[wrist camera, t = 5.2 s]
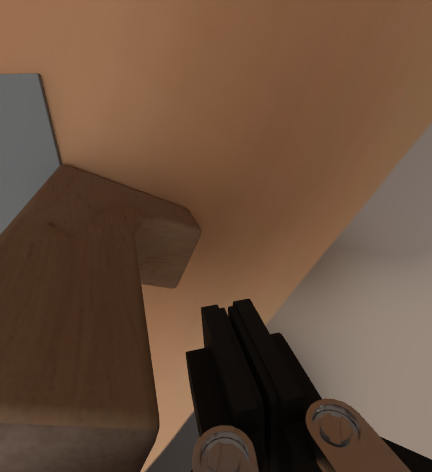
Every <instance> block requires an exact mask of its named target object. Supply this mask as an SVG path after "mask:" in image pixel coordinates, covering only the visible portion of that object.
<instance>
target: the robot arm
mask: <svg viewBox="0 0 432 472" xmlns="http://www.w3.org/2000/svg"><path fill="white" fill-rule="evenodd" d="M201 314H202V325H203V337H204V348H203V349H198V350H193V351H188V352H186V360H187V368H188V375H189V382H190V388H191V394H192V400H193V405H194V411H195V416H196V421H197V427H198V432H199V439H198V441H197V443H196V445H195V447H194V452H193V469H192V471H191V472H432V460H431V459H429V458H427V457H424V456H422V455H420V454H418V453H415V452H413V451H411V450H409V449H407V448H404V447H402V446H399V445H398V444H395V443H393V442H391V441H389V440H386V439H384V438H382V437H380V436H378V434H377V433H376V432H375V431H374V430H373V428H372V427H371V426H370V425H369V424H368V423H367V422H366V421H365V419H364V418H363V417H362V416H361V415H360V414H359V413H358V412H357V411H356V410H355V409H354V408H352V407H351V406H349V405H347V404H346V403H344V402H342V401H338V400H335V399H322V398H321V397H320V395H319V394H318V392H317V390H316V389H315V387H314V385H313V384H312V382H311V381H310V379H309V377H308V376H307V374H306V373H305V371H304V369H303V368H302V366H301V365H300V363H299V361H298V360H297V358H296V356H295V355H294V353H293V351H292V350H291V348H290V347H289V345H288V343H287V342H286V340H285V339H284V337H283V336H282V334H280V333H275V334H269V332H268V330H267V328H266V326H265V325H264V323H263V321H262V319H261V318H260V316H259V314H258V312H257V311H256V309H255V307H254V305H253V304H252V302H251V300H250V299H244V300H239V301H234V302H233V306H230V307H228V315H227V313H226V311H225V308H219V307H218V305H212V306H206V307H201Z"/></svg>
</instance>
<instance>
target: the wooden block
mask: <svg viewBox="0 0 432 472" xmlns="http://www.w3.org/2000/svg"><path fill="white" fill-rule="evenodd" d="M200 235H201V229H200V227H199V226H198V224H197V223H196V221H195V220H194V218H193V217H192V215H191V214H190V212H189V211H188V210H187V209H186V208H184V207H181V206H178V205H175V204H173V203H170V202H167V201H164V200H162V199H159V198H156V197H153V196H151V195H148V194H145V193H142V192H140V191H137V190H134V189H131V188H129V187H126V186H123V185H120V184H117V183H115V182H112V181H109V180H106V179H104V178H101V177H98V176H95V175H93V174H90V173H87V172H84V171H81V170H79V169H76V168H73V167H70V166H68V165H60V166H59V167H58V168H57V169H56V170H55V172H54V173H53V174H52V175H51V176H50V177H49V179H48V180H47V181H46V182H45V183H44V184H43V185H42V187H41V188H40V189H39V190H38V191H37V192H36V194H35V195H34V196H33V197H32V198H31V199H30V201H29V202H28V203H27V204H26V205H25V206H24V208H23V209H22V210H21V211H20V212H19V213H18V215H17V216H16V217H15V218H14V219H13V220H12V222H11V223H10V224H9V225H8V226H7V227H6V229H5V230H4V231H3V232H2V233H1V234H0V472H140V471H141V469H142V467H143V465H144V463H145V461H146V459H147V457H148V455H149V453H150V451H151V449H152V447H153V445H154V443H155V441H156V438H157V434H158V431H159V412H158V405H157V397H156V390H155V383H154V375H153V368H152V361H151V353H150V346H149V339H148V331H147V324H146V317H145V309H144V302H143V294H142V287H141V284H145V285H152V286H159V287H166V288H176V286H177V285H178V283H179V281H180V279H181V277H182V274H183V272H184V270H185V268H186V266H187V263H188V261H189V259H190V257H191V255H192V252H193V250H194V248H195V246H196V244H197V241H198V239H199V237H200Z"/></svg>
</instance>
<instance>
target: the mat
mask: <svg viewBox="0 0 432 472" xmlns="http://www.w3.org/2000/svg"><path fill="white" fill-rule="evenodd" d="M60 165H62V164H61V160H60V156H59V151H58V147H57V143H56V139H55V135H54V131H53V127H52V122H51V118H50V114H49V110H48V106H47V102H46V97H45V93H44V89H43V85H42V81H41V77H40V74H38V73H36V74H3V75H0V234H1V233H2V232H3V231H4V230H5V229H6V227H7V226H8V225H9V224H10V223H11V222H12V220H13V219H14V218H15V217H16V216H17V215H18V213H19V212H20V211H21V210H22V209H23V208H24V206H25V205H26V204H27V203H28V202H29V201H30V199H31V198H32V197H33V196H34V195H35V194H36V192H37V191H38V190H39V189H40V188H41V187H42V185H43V184H44V183H45V182H46V181H47V180H48V179H49V177H50V176H51V175H52V174H53V173H54V172H55V170H56V169H57V168H58V167H59V166H60Z"/></svg>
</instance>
